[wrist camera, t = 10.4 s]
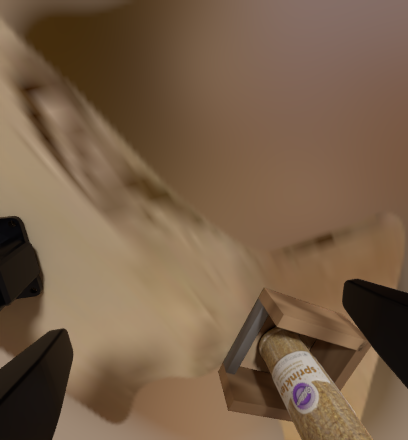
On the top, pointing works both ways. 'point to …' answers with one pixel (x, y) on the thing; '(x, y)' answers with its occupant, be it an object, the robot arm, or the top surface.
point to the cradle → (300, 323)
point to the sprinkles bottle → (308, 390)
